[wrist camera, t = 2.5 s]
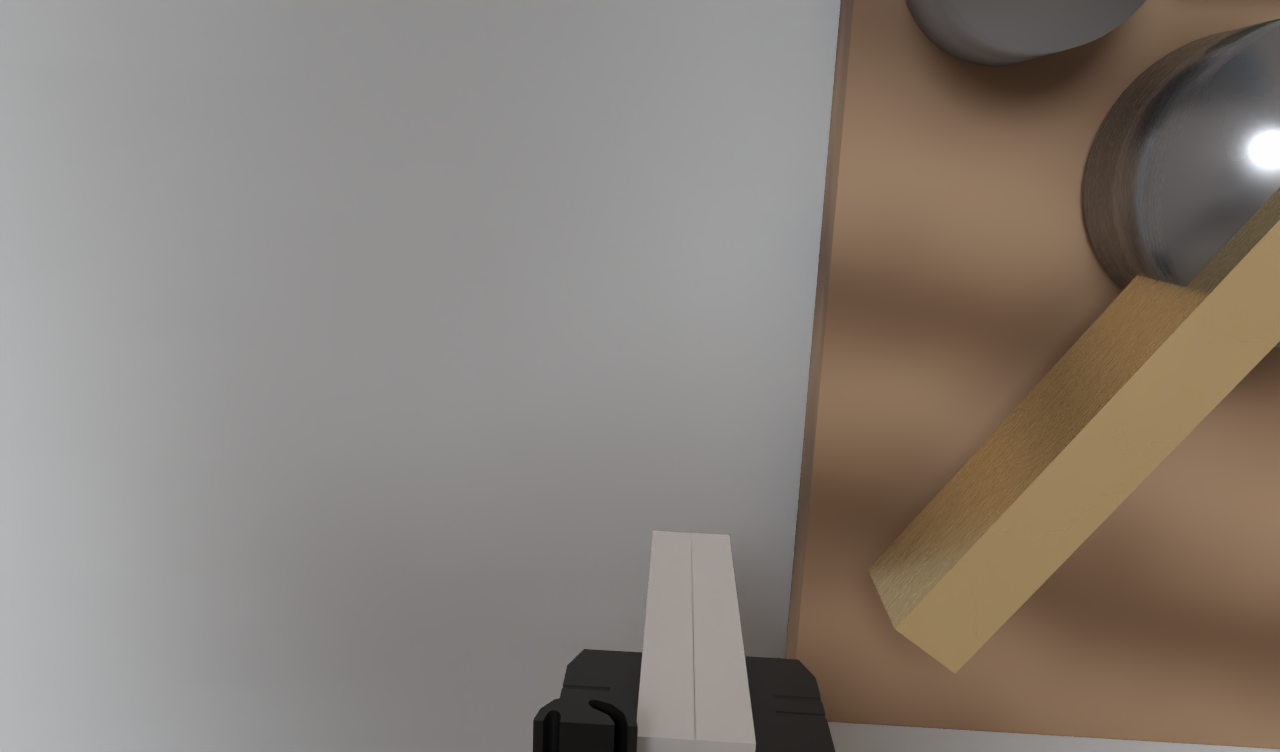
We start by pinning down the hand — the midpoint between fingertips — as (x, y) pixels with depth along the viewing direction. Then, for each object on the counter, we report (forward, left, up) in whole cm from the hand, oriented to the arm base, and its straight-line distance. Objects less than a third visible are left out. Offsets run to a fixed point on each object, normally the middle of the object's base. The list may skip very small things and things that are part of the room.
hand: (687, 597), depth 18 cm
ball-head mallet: (-4, +10, -7) cm, 13 cm away
